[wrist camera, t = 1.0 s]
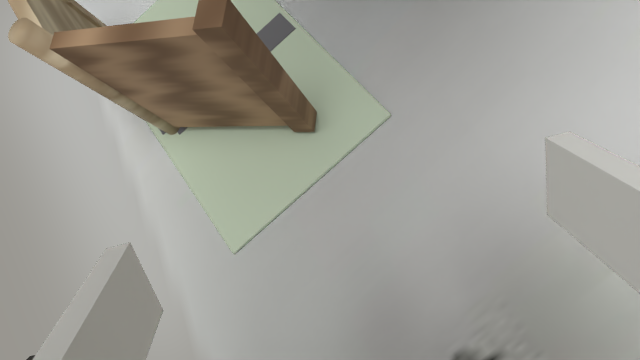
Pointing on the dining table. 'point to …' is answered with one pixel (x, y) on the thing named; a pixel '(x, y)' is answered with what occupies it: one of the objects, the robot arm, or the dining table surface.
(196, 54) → the walnut panel
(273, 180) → the card
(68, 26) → the birch fence section
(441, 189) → the dining table surface
